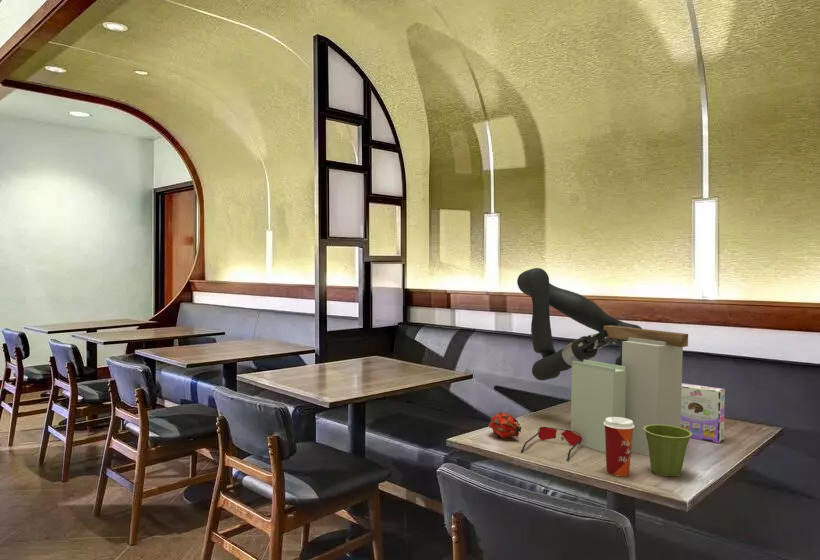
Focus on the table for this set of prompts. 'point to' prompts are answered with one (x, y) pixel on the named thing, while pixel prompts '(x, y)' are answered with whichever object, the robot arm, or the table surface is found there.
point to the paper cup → (618, 445)
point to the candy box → (703, 412)
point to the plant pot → (666, 448)
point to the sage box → (596, 400)
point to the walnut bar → (647, 335)
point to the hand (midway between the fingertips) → (615, 331)
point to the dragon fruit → (504, 425)
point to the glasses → (551, 433)
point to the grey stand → (651, 386)
